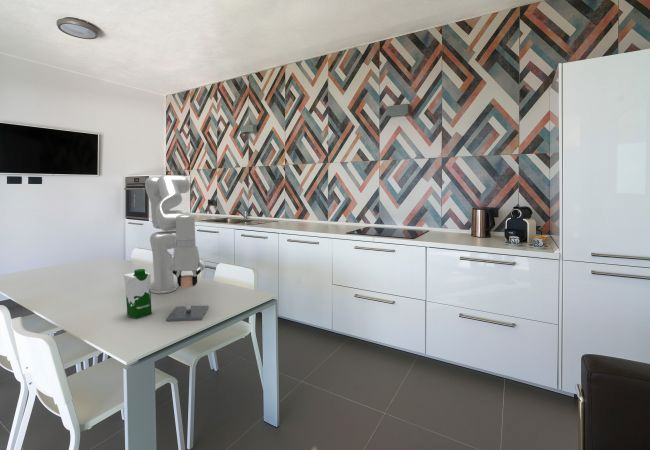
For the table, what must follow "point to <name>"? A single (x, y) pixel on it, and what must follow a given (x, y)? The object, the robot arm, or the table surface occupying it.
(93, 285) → the table surface
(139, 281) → the milk carton
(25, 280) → the table surface
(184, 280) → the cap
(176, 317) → the stud plate
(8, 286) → the table surface
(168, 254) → the robot arm
